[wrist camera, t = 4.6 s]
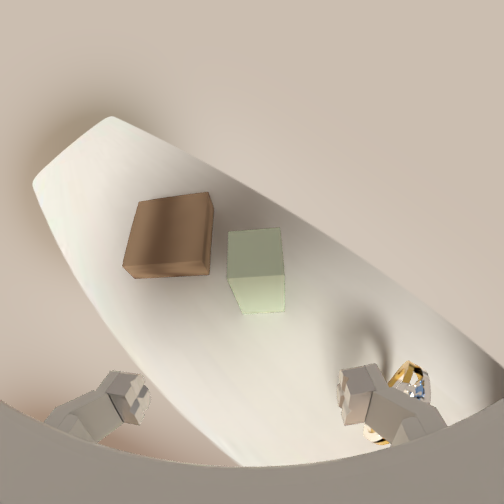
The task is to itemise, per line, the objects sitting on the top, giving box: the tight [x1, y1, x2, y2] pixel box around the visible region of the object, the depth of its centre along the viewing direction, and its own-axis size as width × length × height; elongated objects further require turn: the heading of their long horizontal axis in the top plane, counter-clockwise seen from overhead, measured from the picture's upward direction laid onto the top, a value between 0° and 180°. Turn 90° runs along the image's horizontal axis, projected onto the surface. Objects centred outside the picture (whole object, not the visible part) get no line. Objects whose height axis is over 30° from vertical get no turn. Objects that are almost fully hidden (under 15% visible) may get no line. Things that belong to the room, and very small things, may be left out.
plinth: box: [122, 192, 214, 279], centre depth 30 cm, size 9×9×3 cm
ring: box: [363, 361, 431, 445], centre depth 16 cm, size 7×3×8 cm, turn 142°
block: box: [227, 227, 285, 314], centre depth 23 cm, size 4×4×8 cm
